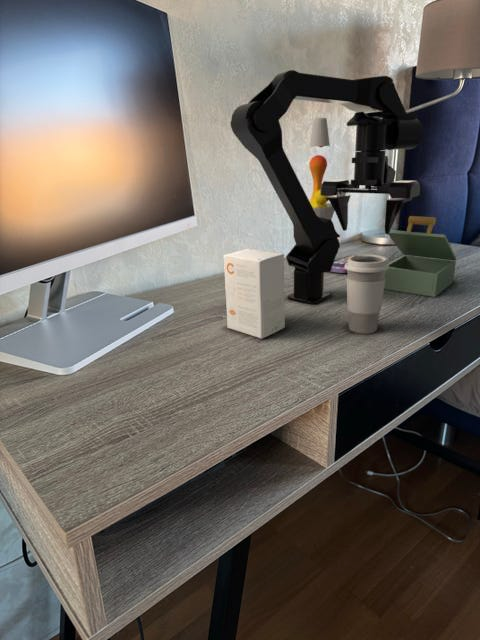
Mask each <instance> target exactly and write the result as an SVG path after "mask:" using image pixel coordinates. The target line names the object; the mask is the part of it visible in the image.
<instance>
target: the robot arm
mask: <svg viewBox="0 0 480 640" xmlns="http://www.w3.org/2000/svg"><path fill="white" fill-rule="evenodd" d="M294 100H297V101H306V102H307V101H309V102H317V103H327V104H336V105H340V106H343V107H345V108H347V110H349V111H351V112H352V111H353V112H355V113H354V115H353V116H352V117H351V118H350V119H348V120H347V122H346V126H347V127H356V128H355V148H354V150H355V152H354V157H351V164H353V165H354V167H353V169H354V170H353V179H350V181H349V179H330V180H325V181H324V180H323V181H322V185H321V187H320V195H321V196H328V197H326V200H328V202H329V203H331V205H332V207H333V208H334V210H335V211H334V213H335V214H336V215H335V216H336V217H337V220H338V222H339V224H340V227H341V229H342V231H344V232H346V231H347V230H348V224H349V211H348V210H349V202H350V198H351V194H377V195H378V194H379V195H389V196H390V197H391V198H389V199H386V202H385V214H384V215H385V217H384V233H385V235H388V234H389V232H390V230H392V228H393V226H394V223H395V221H396V219H397V216H398V214H399V213H400V210H401V209H402V207H403V206H404V205H405V203H407V202H410V201H412V199H413V198H415V197H416V198H417V197H418V196H419V197H420V193H421V185H420V182H419V181H418V180H397V181H395V178H396V173H397V171H396V170H395V169H394V168H393V167H392V166H390V165H389V156H388V155H387V150H388V151H398V150H399V151H400V150H412V149H415V148H416V147H418V146H419V145H420V143H421V142H422V139H423V136H424V129H423V125H422V122H421V121H420V120H419V119H418V118H417V117H418V116H417V115H418V113H417V111H408V112H407V110H406V108H405V106H404V104H403V102H402V100H401V97H400V95H399V93H398V91H397V89H396V85H395V83H394V79H393V78H392V77H390V76H388V75H380V76H370V77H363V78H357V79H349V78H343V77H336V76H335V77H334V76H327V75H321V74H320V75H319V74H313V73H312V74H311V73H305V72H299V71H297V70H294V69H290V70H287V71H284V72H281V73H278V74H277V75H275V76H274V78H273V79H272V80H271V81H270V82H269V83H268V84H267V85H266V86H265V87H264V88H263V89H262V90H261V91H259V92H258V93H256V94H255V96H253V97H252V98H251V99H250V100H249V101H248V103H244V104H241V105H239V106H237V107H236V108H235V110H234V111H233V113H232V115H231V119H230V129H231V130H232V133H233V135H234V136H235V137H236V138H237V140H238V141H239V142H240V143H241V145H242V146H243V147H244V148H245V150H247V151H248V152H249V153H250V154H251V155H252V156H253V157H254V158H256V159H257V161H258V162H259V164H260V165H261V167H262V169H263V172H264V173H265V175H266V177H267V178H268V180H269V182H270V184H271V187H272V188H273V189H274V191H275V193H276V195H277V198H278V200H279V201H280V202H281V204H282V206H283V208H284V210H285V212H286V214H287V215H288V217H289V219H290V220H291V223H292V225H293V239H294V242H295V245H294V246H293V247H291V250H290V251H289V252H288V253H287V255H286V256H285V259H286V262H287V264H288V266H290V267H293V268H294V269H293V293H291V294H289V295H287V297H286V298H287V299H288V300H292V301H297V302H301V303H306V304H311V305H316V304H318V303H319V302H321V301H323V300H325V299H328V298H329V297H330V293H329V292H324V281H325V280H324V278H325V277H324V276H325V273H329V272H330V271H331V269H332V266H333V263H334V261H336V260H335V259H336V257H337V255H338V252H339V249H340V248H341V244H340V241H339V238H340V237H341V235H340V234H339V233H338V232H337V230H336V228H335V225H334V222H333V220H332V219H327V218H322V217H318V216H317V215H316V213H315V211H314V209H313V207H312V205H311V203H310V199H309V197H308V196H307V193H306V192H305V190H304V187H303V185H302V184H301V181H300V179H299V178H298V176H297V174H296V171H295V170H294V168H293V166H292V163H291V161H290V159H289V157H288V155H287V154H286V150H284V146H283V129H282V125H281V123H280V119H281V118H282V117H283V116H284V115H285V114H286V113H287V112H288V110H289V108H290V107H291V105H292V103H293V101H294ZM360 186H364V187H360ZM348 193H349V194H348ZM330 273H331V272H330Z"/></svg>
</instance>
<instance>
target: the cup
mask: <svg viewBox="0 0 480 640" xmlns="http://www.w3.org/2000/svg"><path fill="white" fill-rule="evenodd" d="M349 256H350V257H349V258H348V262H347V263H346V264H345V269H347V270H348V273H347V276H346V296H347V297H346V302H347V303H346V309H347V313H348V314H347V315H348V330H349V331H351V332H353V333H356V334H361V335H362V334H363V335H365V334H367V335H368V334H373V333H375V332H377V330H378V326H379V325H378V324H379V318H380V312H381V311H382V305H383V304H382V303H383V299H384V291H385V289H384V285H385V279H386V277H385V272H386V270H388V269H389V264H388V263H389V262H388V260H387V257H386V256H384V255H383V256H382V255H379V254H365V253H363V254H356V255H355V254H354V255H349Z"/></svg>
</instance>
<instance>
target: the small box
mask: <svg viewBox="0 0 480 640" xmlns="http://www.w3.org/2000/svg"><path fill="white" fill-rule="evenodd" d="M223 267H224V287H225V290H224V291H225V305H226V308H225V309H226V324H227V325H226V327H227V328H228V329H230V330H233V331H236V332H239V333H243V334H245V335H249V336H252V337H255V338H258V339H264V338H267V337H268V336H271V335H273V334H275V333H277V332H279V331H281V330H283V329H284V328H285V327H286V309H285V307H286V304H285V303H286V302H285V301H286V300H285V299H286V298H285V295H286V294H285V293H286V292H285V254H284V253H280V252H273V251H266V250H259V249H253V248H246V249H242V250H238V251H234V252H230V253H226V254H223Z"/></svg>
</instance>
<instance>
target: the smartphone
mask: <svg viewBox="0 0 480 640" xmlns="http://www.w3.org/2000/svg"><path fill="white" fill-rule="evenodd" d="M350 256H351V255H346V256H344V257H341V258H339V259H336V260H334V263H333V266H332V269H331V271H330V273H331V272H332V273H338V274H348V270H347V269H345V264H346V263H347V262H348V258H349V257H350Z"/></svg>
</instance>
